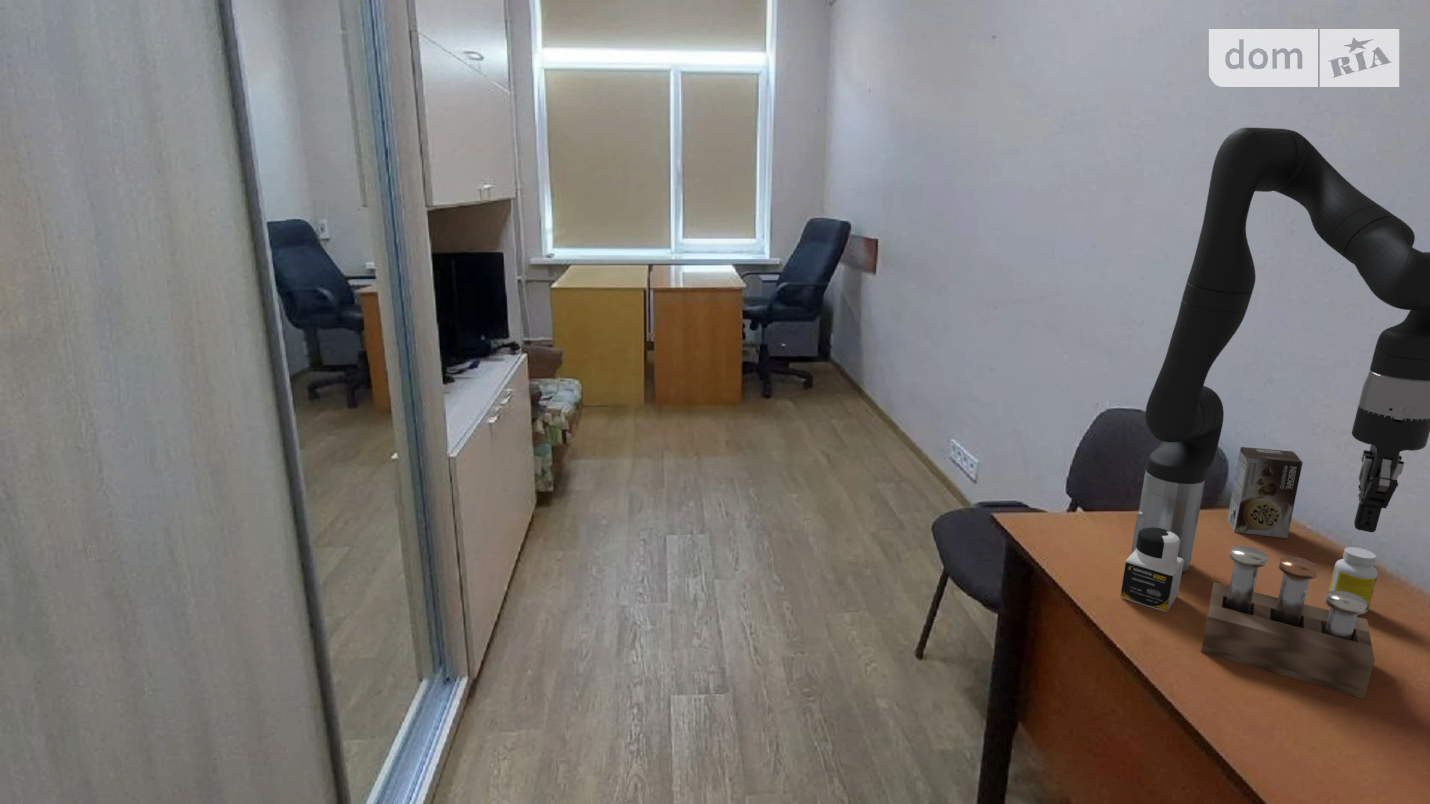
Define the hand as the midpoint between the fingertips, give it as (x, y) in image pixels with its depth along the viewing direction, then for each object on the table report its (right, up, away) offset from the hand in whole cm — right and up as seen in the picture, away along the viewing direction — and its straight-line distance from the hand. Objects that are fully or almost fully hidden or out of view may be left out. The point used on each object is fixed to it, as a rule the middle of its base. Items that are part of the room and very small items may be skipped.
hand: (1364, 529), depth 105 cm
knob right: (0, -20, +6) cm, 21 cm away
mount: (-5, -20, +10) cm, 23 cm away
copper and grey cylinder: (-5, -16, +8) cm, 18 cm away
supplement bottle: (+15, -17, +22) cm, 31 cm away
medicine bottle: (-15, -16, +25) cm, 33 cm away
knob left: (-10, -15, +12) cm, 21 cm away
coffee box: (+20, -8, +49) cm, 54 cm away
